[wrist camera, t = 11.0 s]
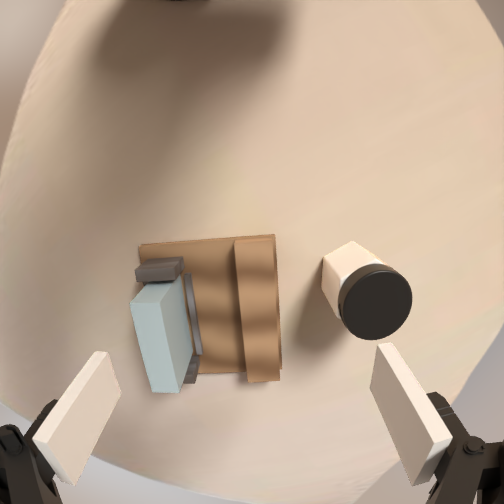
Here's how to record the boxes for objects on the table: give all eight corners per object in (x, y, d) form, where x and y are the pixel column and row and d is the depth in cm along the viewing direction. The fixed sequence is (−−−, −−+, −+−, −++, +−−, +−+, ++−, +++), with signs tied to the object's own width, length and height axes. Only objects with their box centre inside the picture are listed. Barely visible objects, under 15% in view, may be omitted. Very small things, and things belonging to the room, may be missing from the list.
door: (148, 274, 42) (121, 303, 33) (180, 272, 42) (159, 302, 32) (163, 351, 45) (144, 391, 36) (193, 350, 45) (179, 393, 35)
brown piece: (141, 244, 42) (124, 256, 36) (274, 234, 42) (277, 245, 36) (166, 368, 47) (156, 392, 41) (281, 364, 47) (284, 389, 41)
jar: (306, 281, 44) (323, 320, 32) (339, 230, 42) (369, 253, 30) (357, 310, 45) (385, 353, 33) (388, 263, 43) (428, 294, 31)
